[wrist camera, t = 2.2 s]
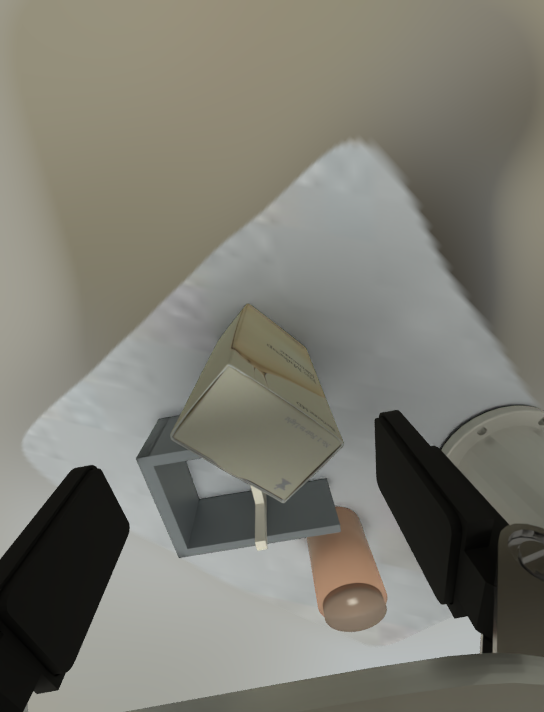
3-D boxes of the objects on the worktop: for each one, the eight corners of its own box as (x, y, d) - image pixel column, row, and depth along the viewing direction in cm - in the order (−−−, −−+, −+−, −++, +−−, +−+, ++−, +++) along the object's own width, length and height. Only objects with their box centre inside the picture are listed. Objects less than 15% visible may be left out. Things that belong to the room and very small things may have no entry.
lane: (315, 392, 25) (329, 426, 20) (327, 485, 28) (341, 532, 24) (159, 419, 25) (135, 458, 20) (191, 507, 29) (178, 557, 24)
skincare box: (307, 347, 23) (354, 444, 12) (273, 386, 24) (286, 508, 13) (245, 299, 21) (229, 358, 10) (212, 343, 23) (165, 441, 11)
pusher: (249, 418, 25) (246, 469, 19) (266, 490, 28) (268, 551, 22) (240, 420, 25) (235, 471, 19) (258, 491, 28) (258, 553, 22)
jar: (358, 502, 30) (391, 585, 22) (361, 541, 32) (391, 628, 24) (302, 511, 30) (316, 597, 22) (308, 549, 32) (323, 639, 25)
